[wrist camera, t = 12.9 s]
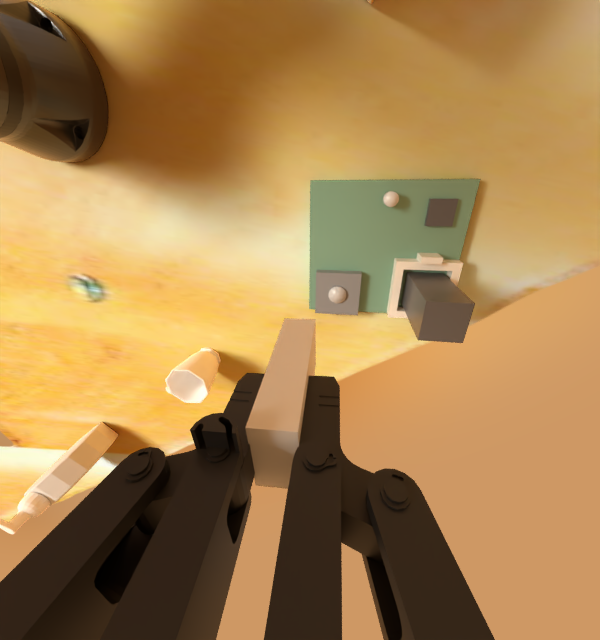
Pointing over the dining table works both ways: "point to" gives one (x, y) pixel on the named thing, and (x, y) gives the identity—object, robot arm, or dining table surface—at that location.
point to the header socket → (420, 263)
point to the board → (385, 228)
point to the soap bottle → (62, 475)
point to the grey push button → (337, 292)
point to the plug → (436, 307)
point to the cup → (194, 376)
